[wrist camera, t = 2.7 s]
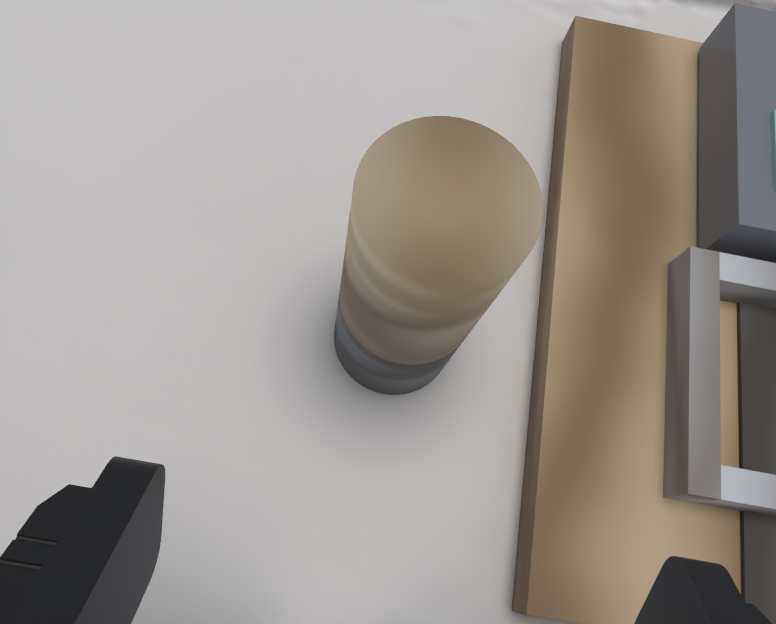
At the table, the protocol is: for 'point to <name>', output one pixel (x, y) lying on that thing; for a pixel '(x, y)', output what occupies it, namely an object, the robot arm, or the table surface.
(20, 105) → the table surface
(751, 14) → the block
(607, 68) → the board
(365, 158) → the tan grey cylinder
